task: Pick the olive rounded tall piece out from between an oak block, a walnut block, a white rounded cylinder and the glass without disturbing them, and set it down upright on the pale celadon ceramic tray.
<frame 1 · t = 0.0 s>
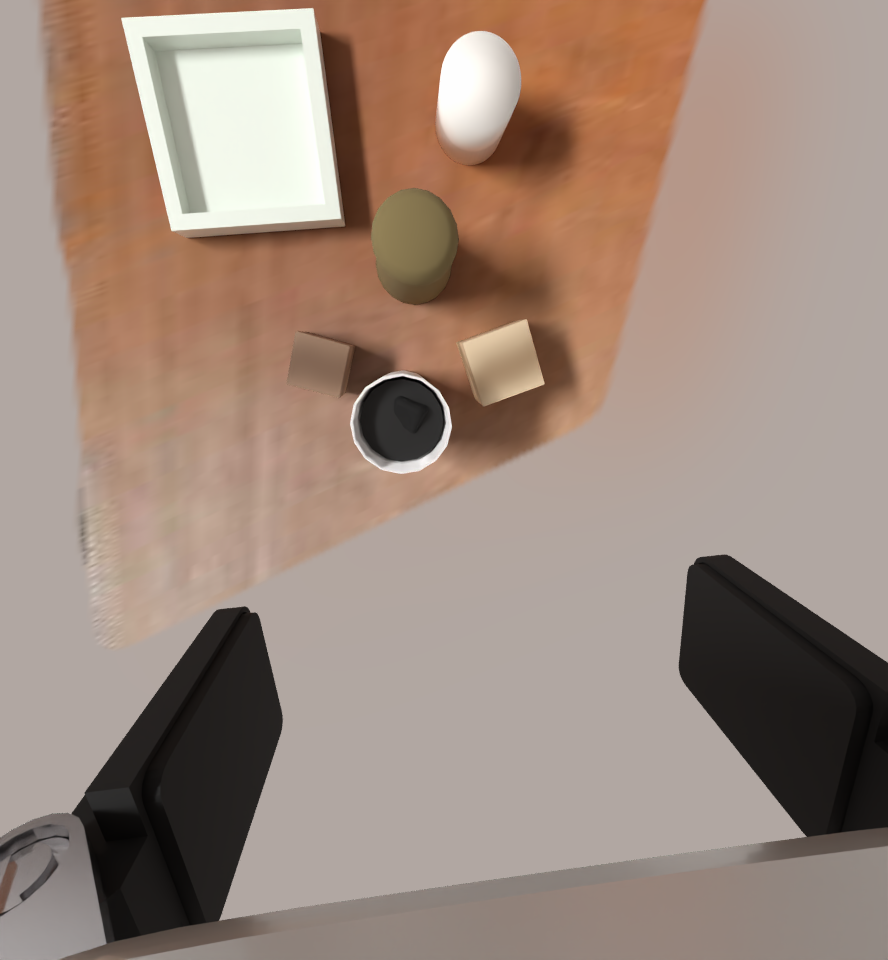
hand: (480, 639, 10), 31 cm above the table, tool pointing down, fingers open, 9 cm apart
tray: (250, 139, 33), on the table
walnut block: (327, 362, 38), on the table
olive rounded tall piece: (413, 264, 36), on the table
white rounded cylinder: (468, 126, 33), on the table
oak block: (492, 360, 39), on the table
drinking glass: (403, 404, 39), on the table
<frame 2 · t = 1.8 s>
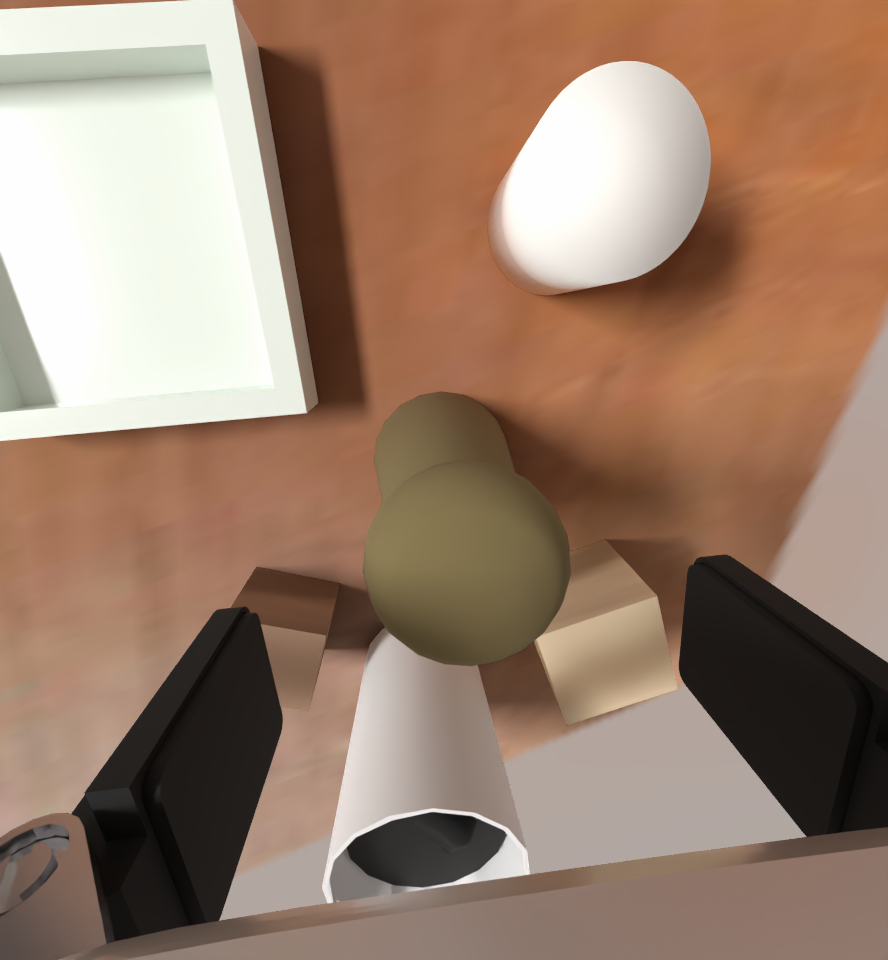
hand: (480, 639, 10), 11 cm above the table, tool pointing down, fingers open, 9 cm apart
tray: (129, 257, 17), on the table
walnut block: (292, 608, 22), on the table
olive rounded tall piece: (441, 458, 20), on the table
white rounded cylinder: (550, 226, 18), on the table
oak block: (568, 595, 23), on the table
drinking glass: (420, 658, 24), on the table
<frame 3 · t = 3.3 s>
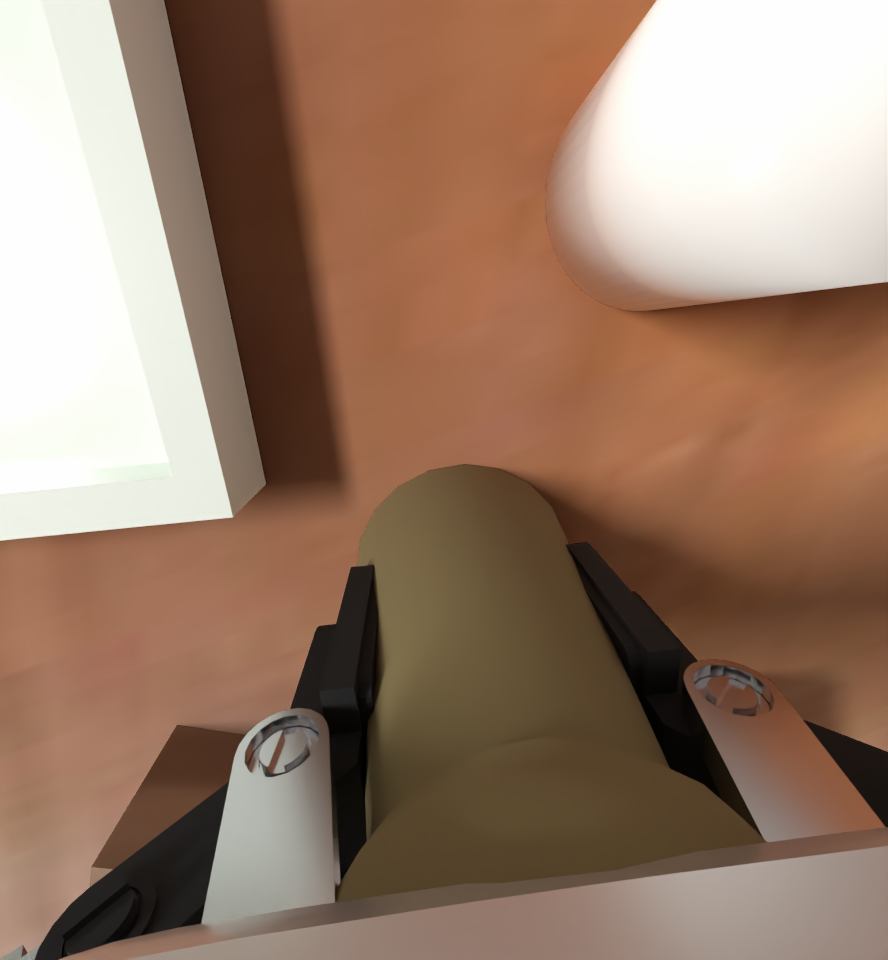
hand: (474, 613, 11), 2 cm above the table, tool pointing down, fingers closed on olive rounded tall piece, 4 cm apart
walnut block: (235, 779, 15), on the table
olive rounded tall piece: (462, 562, 13), on the table, touching gripper
white rounded cylinder: (651, 196, 10), on the table
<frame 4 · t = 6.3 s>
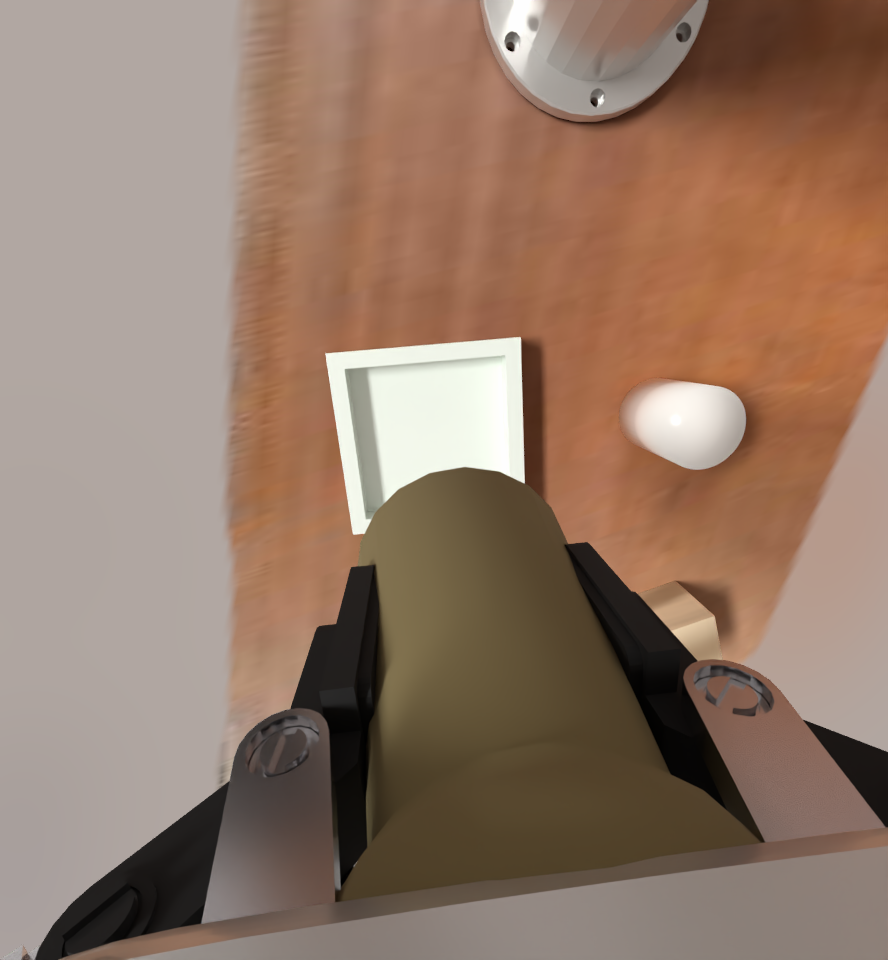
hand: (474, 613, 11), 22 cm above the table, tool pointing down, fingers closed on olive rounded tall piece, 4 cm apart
tray: (431, 434, 31), on the table
olive rounded tall piece: (462, 564, 13), point 19 cm above the table, touching gripper
white rounded cylinder: (652, 413, 32), on the table
oak block: (651, 614, 37), on the table
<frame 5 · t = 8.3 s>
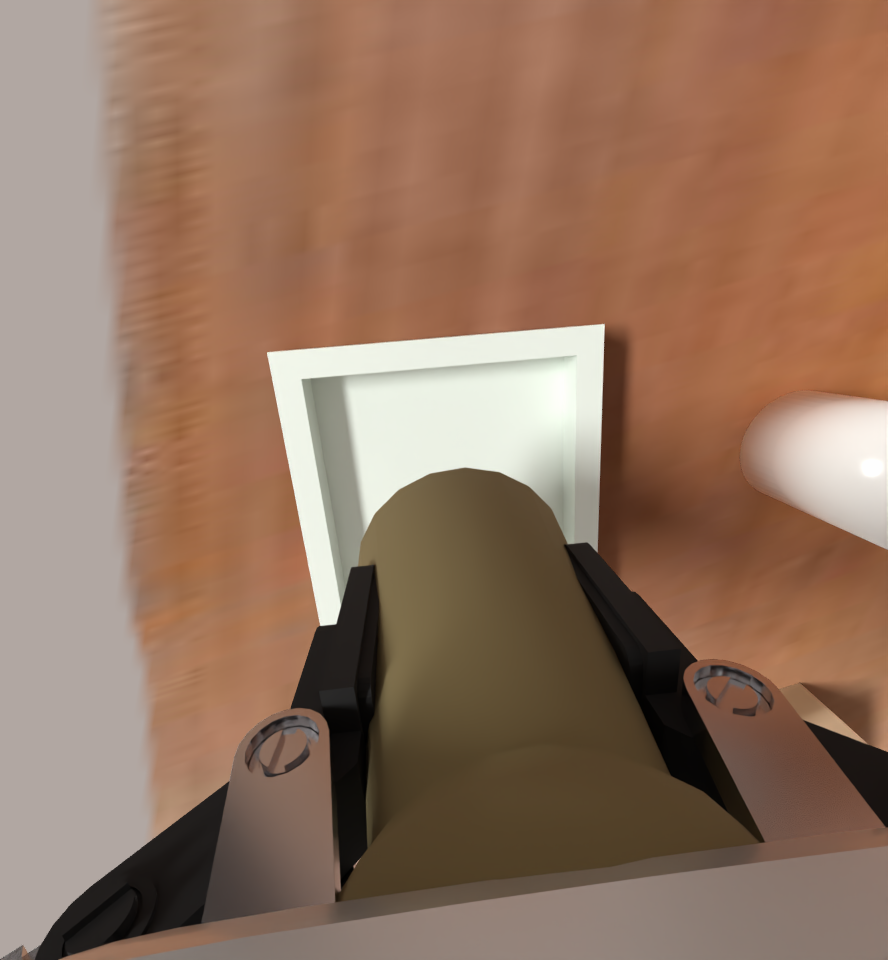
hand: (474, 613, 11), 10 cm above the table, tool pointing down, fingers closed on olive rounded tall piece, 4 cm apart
tray: (446, 478, 20), on the table
olive rounded tall piece: (462, 565, 13), point 7 cm above the table, touching gripper
white rounded cylinder: (792, 445, 21), on the table
oak block: (760, 727, 26), on the table
when the fingers open (5 cm above the table, at t = 9.7 s): olive rounded tall piece drops 2 cm, resting on tray.
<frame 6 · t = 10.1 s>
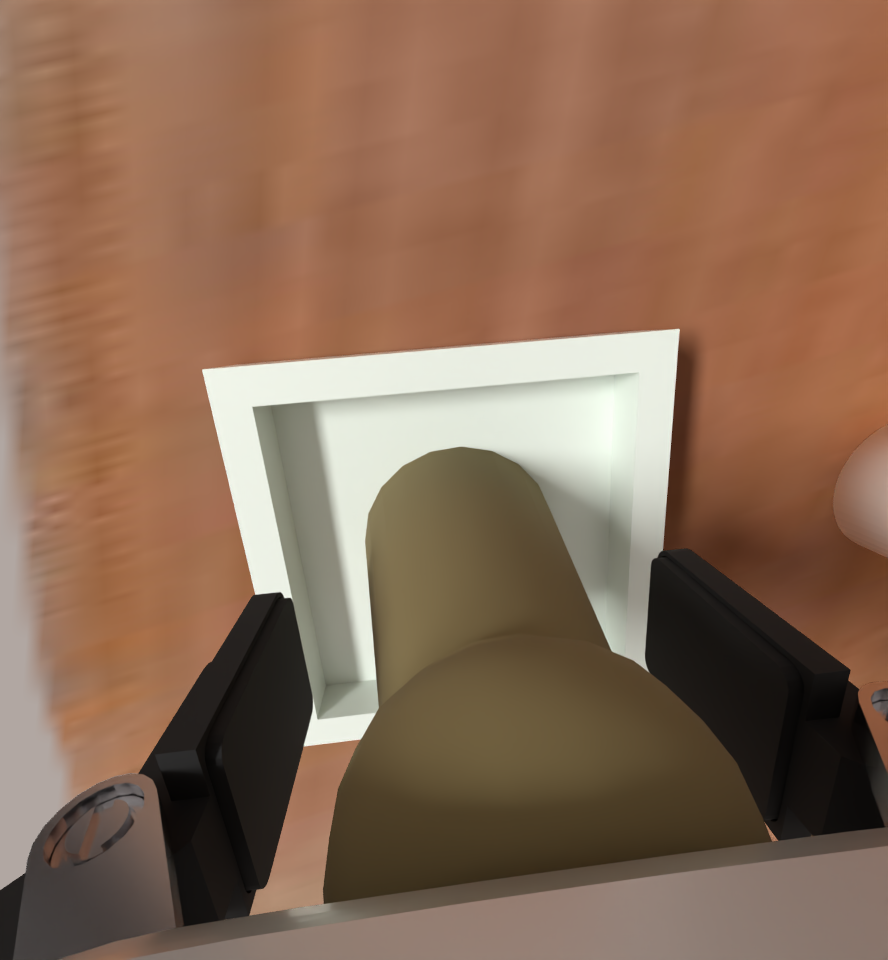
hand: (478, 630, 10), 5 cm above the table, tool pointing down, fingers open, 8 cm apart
tray: (455, 531, 15), on the table
olive rounded tall piece: (459, 535, 15), point 1 cm above the table, touching tray
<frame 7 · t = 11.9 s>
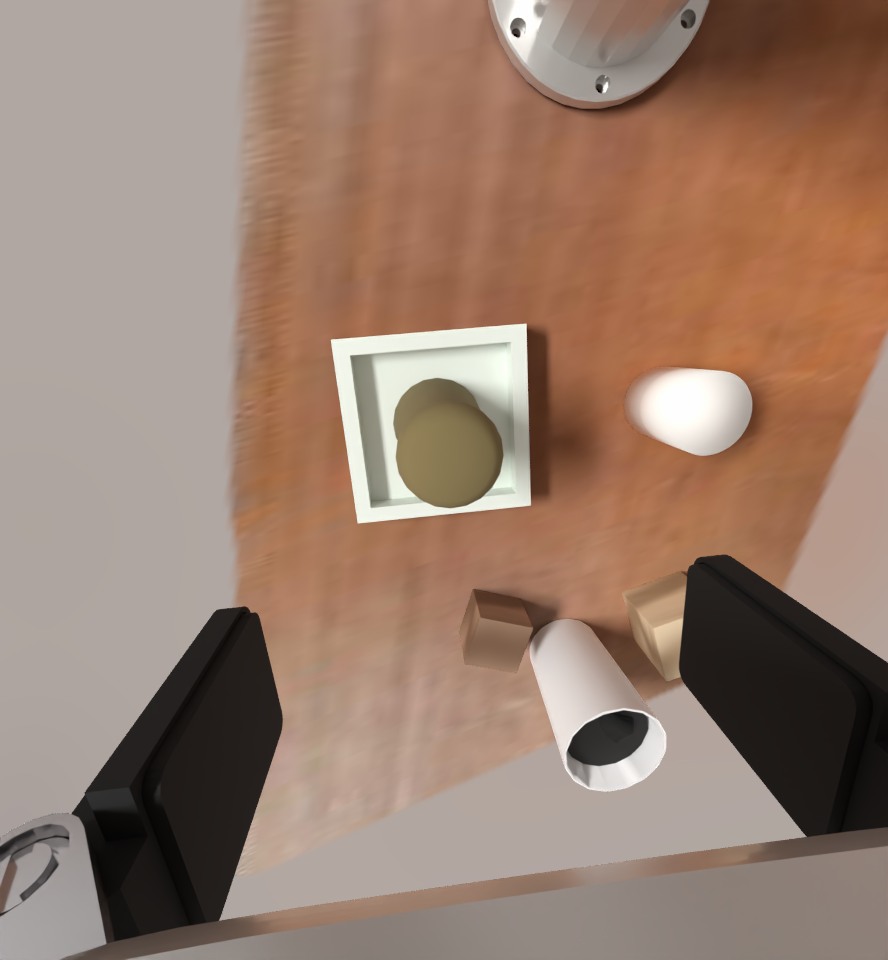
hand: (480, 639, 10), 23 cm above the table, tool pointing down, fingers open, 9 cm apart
tray: (435, 422, 31), on the table
walnut block: (489, 614, 36), on the table
olive rounded tall piece: (437, 422, 31), point 1 cm above the table, touching tray
white rounded cylinder: (657, 402, 32), on the table
oak block: (656, 606, 37), on the table
drinking glass: (562, 646, 38), on the table
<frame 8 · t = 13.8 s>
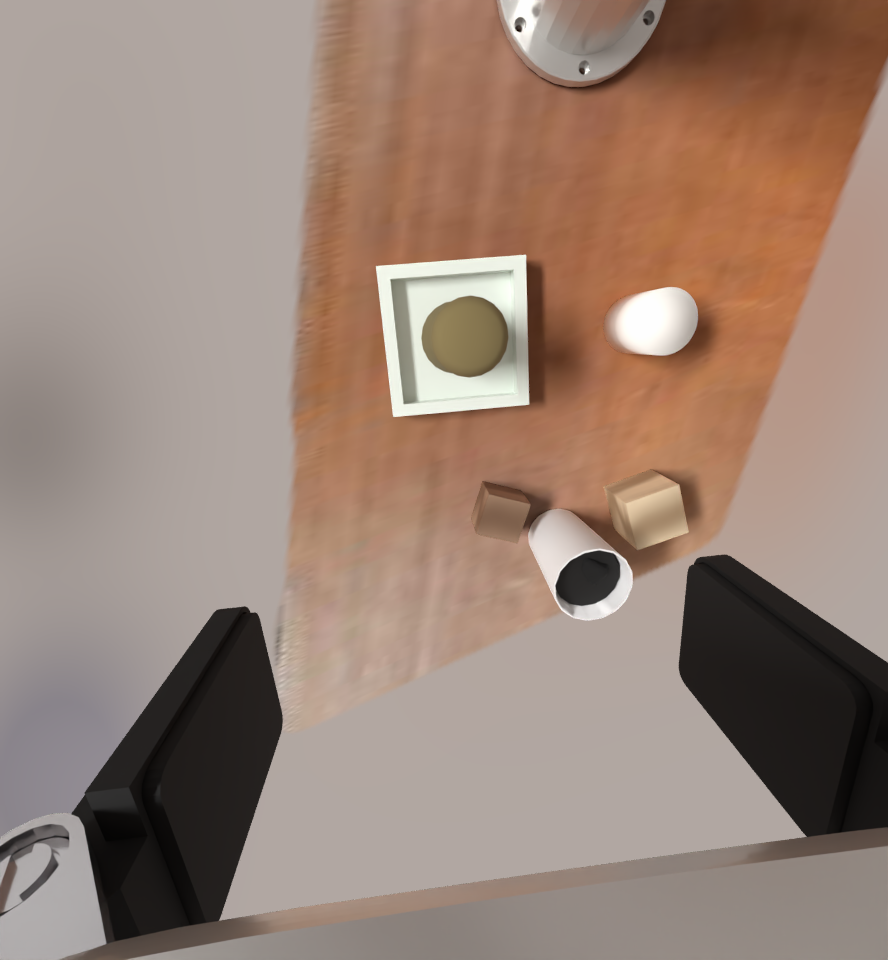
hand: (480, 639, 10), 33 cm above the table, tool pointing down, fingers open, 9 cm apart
tray: (454, 339, 40), on the table
walnut block: (495, 504, 45), on the table
olive rounded tall piece: (455, 338, 39), point 1 cm above the table, touching tray
white rounded cylinder: (630, 324, 40), on the table
oak block: (632, 499, 46), on the table
drinking glass: (555, 533, 46), on the table
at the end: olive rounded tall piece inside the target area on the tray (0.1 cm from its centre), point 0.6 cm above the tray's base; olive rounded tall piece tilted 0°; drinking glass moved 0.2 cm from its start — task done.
